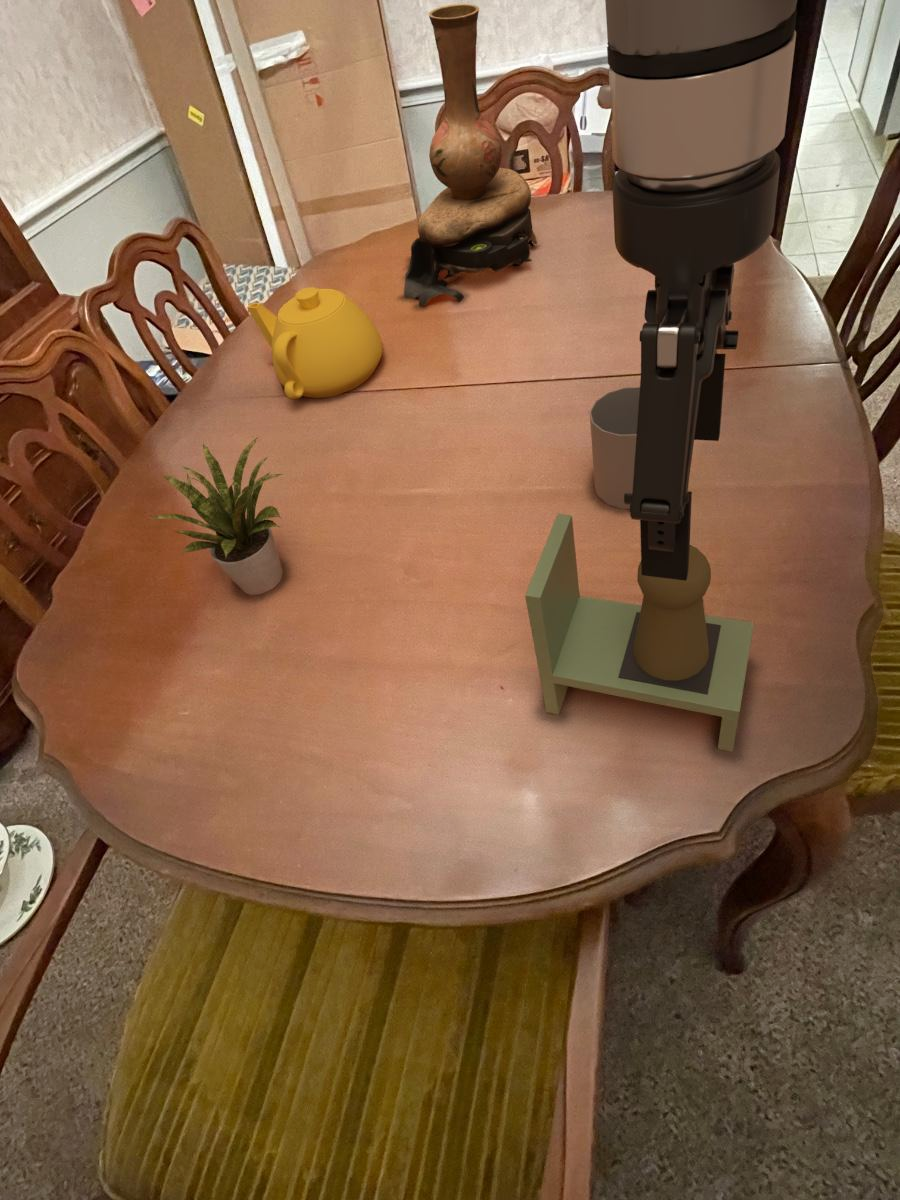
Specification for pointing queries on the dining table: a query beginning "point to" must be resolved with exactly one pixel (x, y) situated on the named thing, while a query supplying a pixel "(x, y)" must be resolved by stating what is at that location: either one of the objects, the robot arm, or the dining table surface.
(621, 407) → the cup
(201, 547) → the house plant
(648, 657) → the brown peg doll
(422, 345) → the dining table surface
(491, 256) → the vase
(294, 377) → the teapot
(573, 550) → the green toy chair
